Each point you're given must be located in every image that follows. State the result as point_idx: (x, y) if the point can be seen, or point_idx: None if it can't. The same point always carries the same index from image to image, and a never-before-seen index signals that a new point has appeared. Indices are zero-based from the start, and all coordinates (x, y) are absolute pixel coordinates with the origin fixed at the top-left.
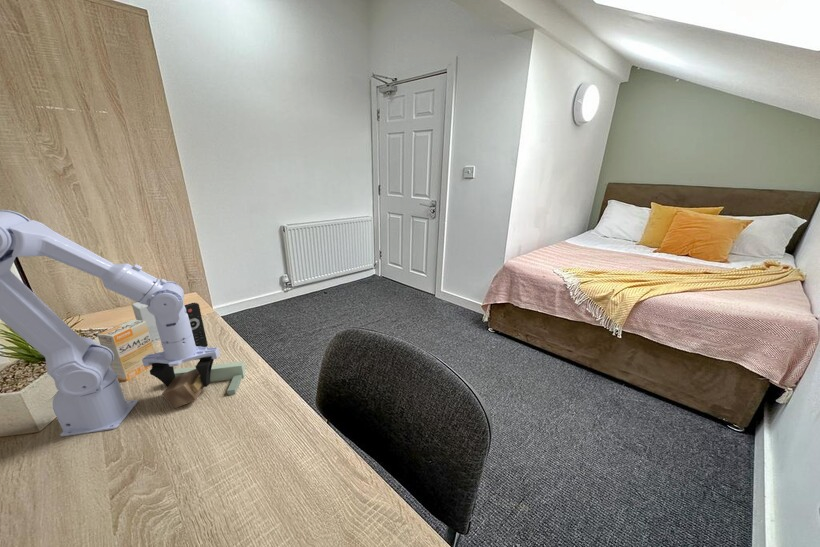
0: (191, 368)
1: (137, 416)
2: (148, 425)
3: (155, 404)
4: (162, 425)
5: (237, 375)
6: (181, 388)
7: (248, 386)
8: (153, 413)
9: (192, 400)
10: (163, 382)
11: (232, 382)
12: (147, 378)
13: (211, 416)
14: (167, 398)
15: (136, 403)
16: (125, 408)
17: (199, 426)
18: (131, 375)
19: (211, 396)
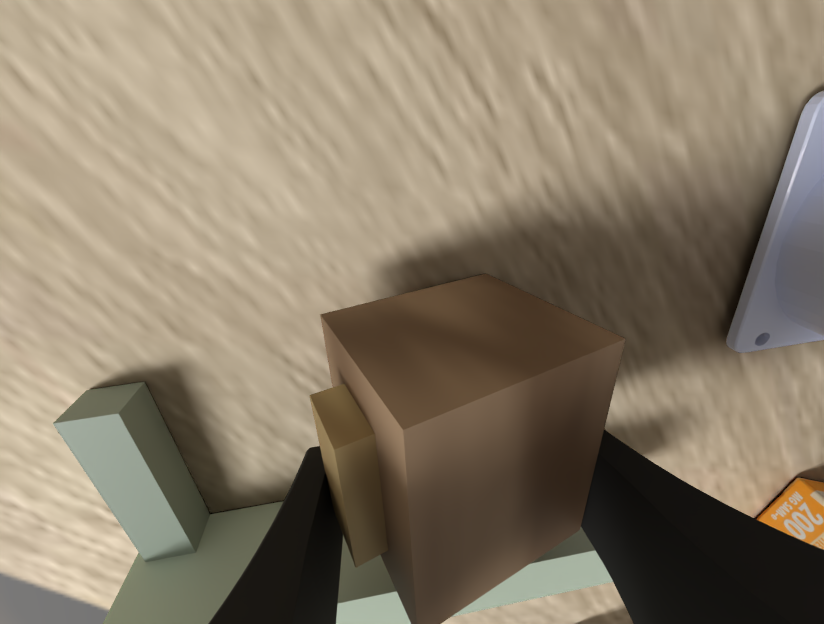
0: (501, 595)
1: (695, 220)
2: (598, 109)
3: (619, 321)
4: (492, 90)
5: (164, 548)
6: (433, 392)
7: (47, 462)
8: (605, 239)
9: (347, 311)
10: (660, 471)
11: (145, 491)
12: (713, 497)
13: (107, 150)
14: (553, 315)
15: (732, 328)
16: (808, 263)
17: (130, 12)
18: (798, 512)
19: (277, 376)
